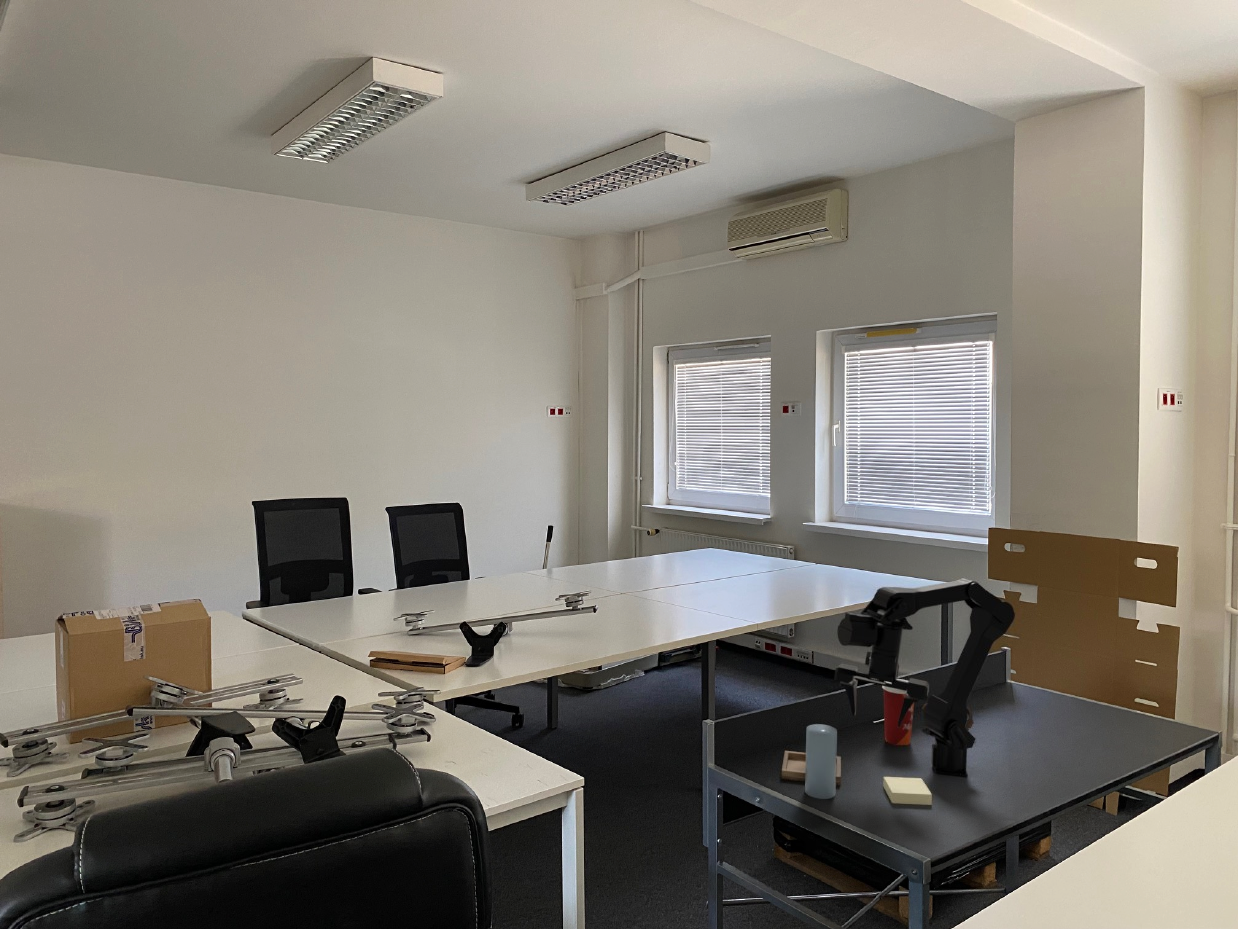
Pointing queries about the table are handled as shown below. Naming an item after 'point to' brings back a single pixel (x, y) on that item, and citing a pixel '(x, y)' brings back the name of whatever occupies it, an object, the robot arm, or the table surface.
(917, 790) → the sticky note pad
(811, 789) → the pale blue cylinder
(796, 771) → the tray
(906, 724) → the paper cup
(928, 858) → the table surface
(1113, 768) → the table surface
